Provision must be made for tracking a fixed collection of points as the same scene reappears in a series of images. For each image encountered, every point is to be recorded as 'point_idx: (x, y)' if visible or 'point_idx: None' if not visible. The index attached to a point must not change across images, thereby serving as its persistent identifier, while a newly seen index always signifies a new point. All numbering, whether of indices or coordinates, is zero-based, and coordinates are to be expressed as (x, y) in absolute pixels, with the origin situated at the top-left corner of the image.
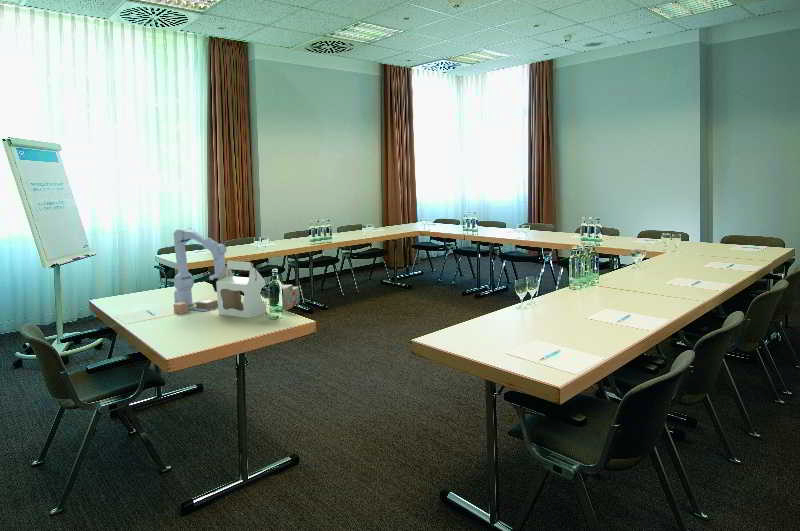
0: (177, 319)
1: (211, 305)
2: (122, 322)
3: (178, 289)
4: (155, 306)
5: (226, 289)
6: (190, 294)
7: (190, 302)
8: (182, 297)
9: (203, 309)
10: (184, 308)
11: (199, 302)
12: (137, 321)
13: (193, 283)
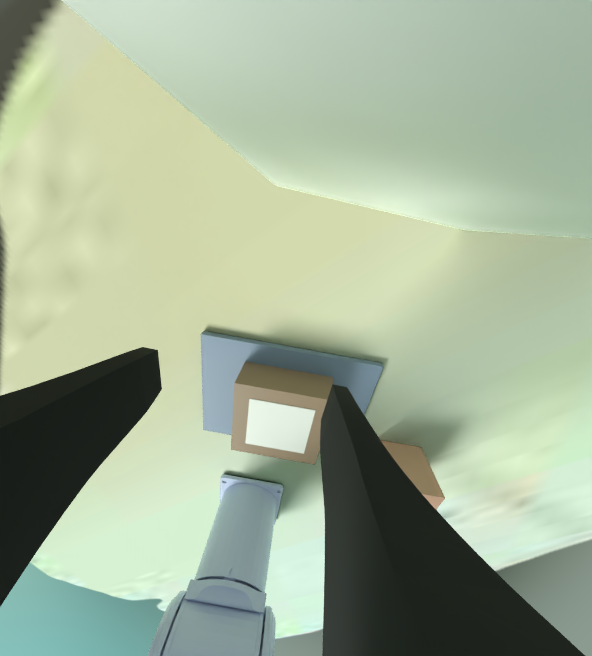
0: (563, 409)
1: (297, 378)
2: (552, 549)
3: (272, 612)
4: (304, 551)
5: (512, 159)
6: (233, 537)
7: (249, 491)
8: (269, 540)
9: (353, 387)
10: (404, 463)
11: (316, 448)
12: (551, 522)
13: (169, 621)
